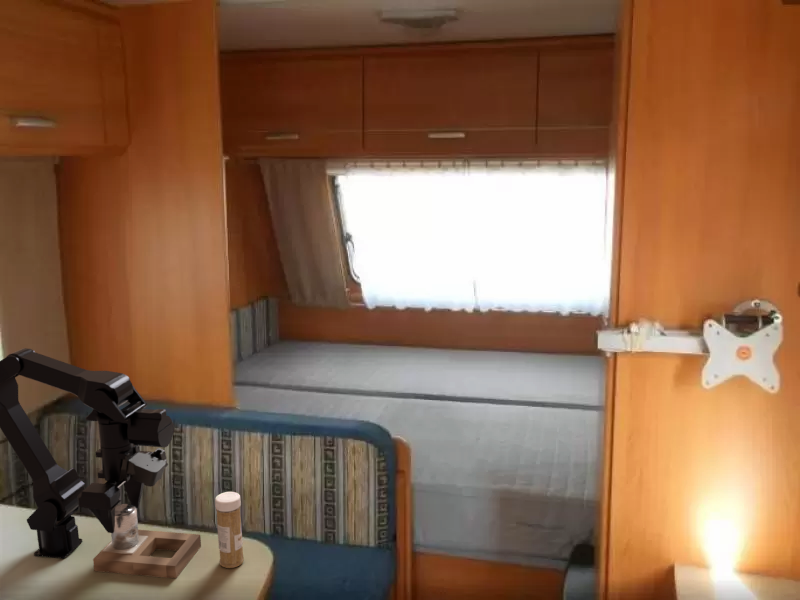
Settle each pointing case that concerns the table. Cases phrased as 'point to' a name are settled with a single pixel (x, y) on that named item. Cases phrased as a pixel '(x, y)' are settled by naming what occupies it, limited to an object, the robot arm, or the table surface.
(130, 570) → the block
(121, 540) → the plug
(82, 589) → the table surface
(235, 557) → the sprinkles bottle
